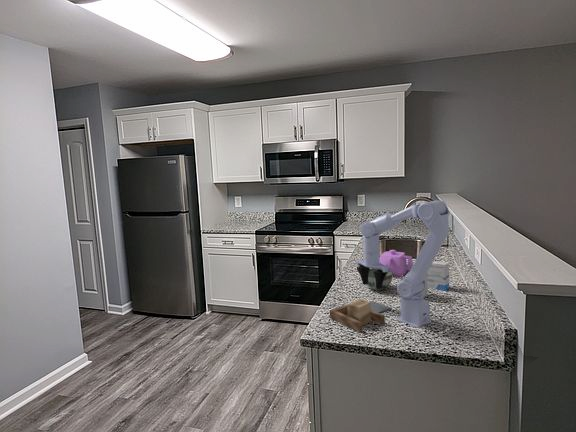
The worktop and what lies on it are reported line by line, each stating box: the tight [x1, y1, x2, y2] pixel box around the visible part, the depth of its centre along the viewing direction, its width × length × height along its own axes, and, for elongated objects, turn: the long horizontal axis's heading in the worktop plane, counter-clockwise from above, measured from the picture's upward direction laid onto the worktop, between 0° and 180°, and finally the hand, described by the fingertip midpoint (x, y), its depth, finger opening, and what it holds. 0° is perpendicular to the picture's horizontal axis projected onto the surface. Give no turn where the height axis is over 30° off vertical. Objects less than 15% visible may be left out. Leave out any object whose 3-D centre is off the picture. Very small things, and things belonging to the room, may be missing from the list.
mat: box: [369, 300, 392, 314], centre depth 141 cm, size 10×10×1 cm
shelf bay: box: [329, 304, 386, 333], centre depth 130 cm, size 16×12×3 cm
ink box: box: [428, 260, 450, 292], centre depth 161 cm, size 9×5×12 cm, turn 47°
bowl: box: [366, 268, 394, 292], centre depth 163 cm, size 14×13×8 cm
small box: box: [422, 272, 429, 299], centre depth 152 cm, size 8×6×10 cm
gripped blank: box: [346, 298, 372, 326], centre depth 128 cm, size 5×7×7 cm
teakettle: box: [379, 249, 414, 277], centre depth 187 cm, size 17×17×12 cm
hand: (372, 286), depth 140 cm, fingers open, 7 cm apart
